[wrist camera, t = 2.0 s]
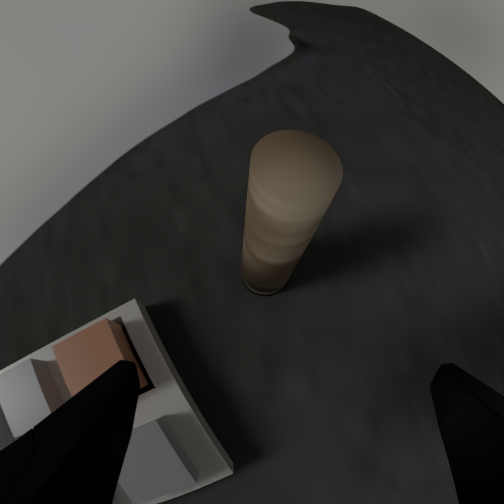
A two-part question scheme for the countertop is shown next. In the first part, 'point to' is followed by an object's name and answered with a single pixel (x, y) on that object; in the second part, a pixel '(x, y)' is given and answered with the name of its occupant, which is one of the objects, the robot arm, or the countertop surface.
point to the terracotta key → (93, 354)
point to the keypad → (145, 422)
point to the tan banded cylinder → (285, 205)
